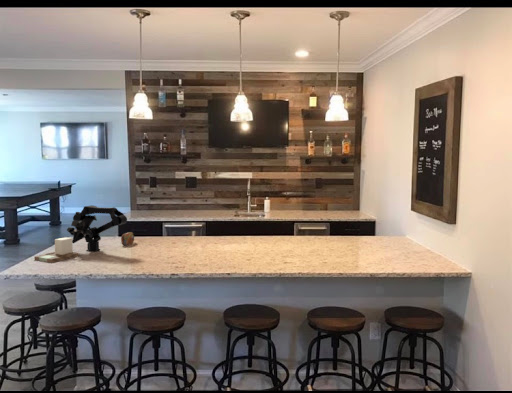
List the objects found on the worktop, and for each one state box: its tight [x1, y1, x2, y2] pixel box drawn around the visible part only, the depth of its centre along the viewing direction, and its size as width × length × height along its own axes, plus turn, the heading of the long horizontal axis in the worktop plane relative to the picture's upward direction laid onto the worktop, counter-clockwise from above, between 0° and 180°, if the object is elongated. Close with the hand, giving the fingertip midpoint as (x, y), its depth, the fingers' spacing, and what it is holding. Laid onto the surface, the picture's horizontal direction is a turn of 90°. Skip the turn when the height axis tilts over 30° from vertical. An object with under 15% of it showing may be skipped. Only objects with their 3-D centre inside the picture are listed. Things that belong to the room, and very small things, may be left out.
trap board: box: [33, 251, 79, 263], centre depth 269 cm, size 20×15×2 cm
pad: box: [38, 255, 56, 263], centre depth 263 cm, size 6×7×2 cm
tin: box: [120, 231, 135, 247], centre depth 311 cm, size 15×3×8 cm, turn 168°
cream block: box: [54, 237, 74, 255], centre depth 273 cm, size 8×6×9 cm
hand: (72, 242), depth 279 cm, fingers closed
